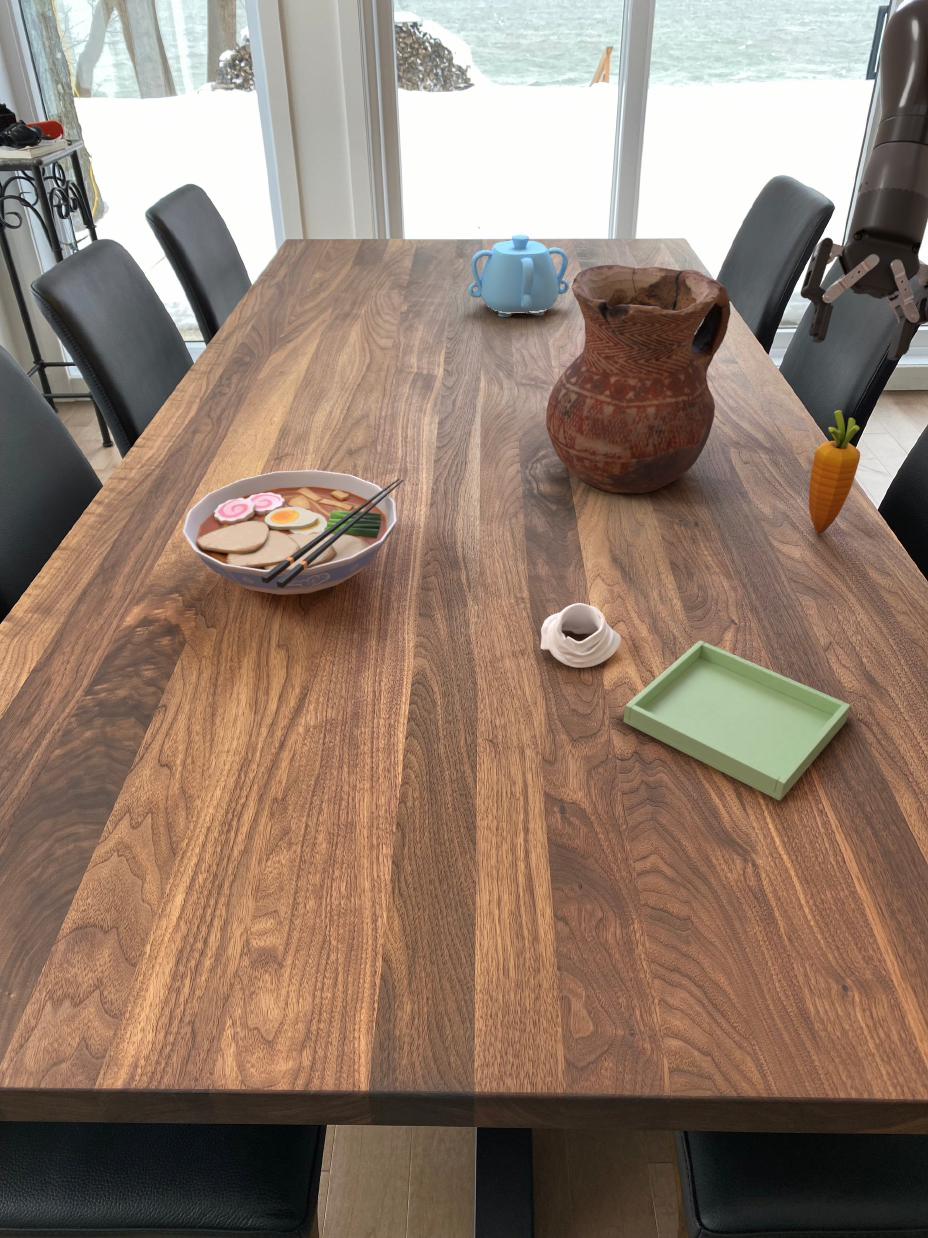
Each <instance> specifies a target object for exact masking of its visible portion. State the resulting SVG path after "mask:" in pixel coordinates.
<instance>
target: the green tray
mask: <svg viewBox="0 0 928 1238" xmlns="http://www.w3.org/2000/svg"><path fill="white" fill-rule="evenodd" d="M850 709H851V704H849V703H847V702H844V701H843V700H840V699H838V698H835V697H834V696H831V695H828V694H826V693H824V692H821V691H819V690H817V689H815V688H813V687H811V686H808V685H805V684H803V683H801V682H799V681H796V680H794V679H791V678H789V677H787V676H785V675H782V674H779V673H777V672H776V671H773V670H770V669H768V668H766V667H763V666H761V665H759V664H756V663H754V662H752V661H749V660H747V659H745V658H742V657H741V656H738V655H735V654H733V653H731V652H729V651H726V650H724V649H722V648H720V647H717V646H715V645H713V644H710V643H707V642H705V641H703V640H701V639H699V640H698V641H697V642H696V643H695V644H693V645H692V646H691V647H690V648H689V649H688V650H687V651H685V652H684V653H683V654H682V655H681V656H680V657H679V658H678V659H676V660H675V661H674V662H673V663H672V664H670V665H669V666H668V667H667V668H666V669H665V670H664V671H662V672H661V673H660V674H659V675H658V676H657V677H656V678H655V679H653V680H652V681H651V682H650V683H649V684H647V686H645V688H643V689H642V690H641V691H639V692H638V693H637V694H636V695H635V696H634V697H632V699H631V700H630V701H628V702H627V703H626V704H625V707H624V714H623V721H622V722H623V723H624V724H626V725H628V726H631V727H633V728H635V729H636V730H638V731H640V732H642V733H644V734H646V735H648V736H650V737H652V738H654V739H656V740H658V741H660V742H662V743H664V744H665V745H667V746H670V747H672V748H674V749H676V750H678V751H679V752H681V753H684V754H685V755H688V756H690V757H692V758H694V759H696V760H698V761H700V762H701V763H704V764H705V765H707V766H710V767H711V768H714V769H716V770H718V771H719V772H721V773H724V774H725V775H727V776H728V777H732V778H734V779H736V780H737V781H739V782H741V783H742V784H745V785H747V786H749V787H751V788H753V789H755V790H757V791H759V792H761V793H763V794H765V795H767V796H769V797H771V798H773V799H775V800H777V801H779V802H781V801H782V799H784V797H785V796H786V795H787V793H788V792H789V791H790V789H792V787H793V786H794V785H795V784H796V783H797V781H798V780H800V778H801V777H802V775H803V774H804V773H805V772H806V770H807V769H808V768H809V767H810V765H812V764H813V762H814V761H815V760H816V758H817V757H818V756H819V755H820V753H821V752H823V750H824V749H825V747H826V746H828V744H829V743H830V741H831V740H832V739H833V738H834V737H835V736H836V734H837V733H838V732H839V731H840V730H841V728H843V726H844V725H845V724H846V723H847V719H848V716H849V712H850Z"/></svg>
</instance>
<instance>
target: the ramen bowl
mask: <svg viewBox="0 0 928 1238" xmlns="http://www.w3.org/2000/svg"><path fill="white" fill-rule="evenodd" d="M403 482H404V479H401V480H400V478H396V480H394V481H393V482H391V483H390V484H389V485H387V486H386V487H384V488H381V486H379V485H377V484H375V483H373V482H370V481H367V480H366V479H363V478H360V477H357V476H354V475H352V474H348V473H343V472H342V473H341V472H333V471H325V470H318V469H317V470H316V469H305V470H304V469H303V470H281V471H280V470H279V471H272V472H267V473H263V474H259V475H255V476H250V477H245V478H241V479H237V480H235V481H233V482H231V483H229V484H227V485H224V486H222V487H220V488H217V489H215V490H213V491H210V492H208V493H206V495H204V496H203V497H202V498H201V499H200V500H199V501H198V502H197V503H196V504H195V505H193V506H192V507H191V509H189V510H188V512H187V515H186V516H185V521H184V524H183V527H182V530H181V531H182V534H183V536H184V537H185V539H186V540H187V542H188V543H189V544H190V546H191V547H192V549H193V551H194V552H195V553H196V554H197V556H198V557H199V558H200V560H201V561H202V562H203V563H204V564H205V565H207V566H208V567H209V568H210V569H211V570H212V571H213V572H214V573H216V574H218V575H219V576H221V577H223V578H224V579H226V580H228V581H229V582H231V583H233V584H236V585H238V586H239V587H241V588H243V589H245V590H249V591H253V592H254V591H255V592H260V593H267V594H273V595H279V596H281V595H282V596H283V595H300V594H301V595H303V594H310V593H314V592H317V591H321V590H323V589H324V590H325V589H328V588H331V587H335V586H337V585H339V584H341V583H343V582H345V581H347V580H349V579H350V578H352V577H353V576H355V575H357V574H359V573H360V572H362V571H364V569H365V568H366V567H368V566H369V565H370V563H371V562H372V561H373V560H374V558H375V556H376V555H377V553H378V552H379V551H380V549H381V548H382V547H383V545H384V544H385V543H386V541H387V540H388V538H389V537H390V535H391V534H392V531H393V529H394V528H395V526H396V524H397V519H398V518H397V509H396V501H395V500H394V499H393V498H392V497H391V496H390V495H389V494H390V493H391V492H393V491H394V490H395V489H396V488H397V487H398V486H399V485H401V484H402V483H403ZM392 486H393V487H392ZM387 490H388V491H387Z"/></svg>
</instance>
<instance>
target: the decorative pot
mask: <svg viewBox="0 0 928 1238" xmlns="http://www.w3.org/2000/svg"><path fill="white" fill-rule="evenodd" d="M552 254H557V255H560V256H561V258H562V263H561V267H560V269H559V272H558V274H557V270H556V267H555V264H554V261H553V258H552ZM483 257H487V258H486V261H485V263H484V265H483V268H482V272H481V275H480V274H479V271H478V266H477V265H478V264H477V263H478V260H479V259H480V258H483ZM568 265H569V257H568V254H567V253H566V252H565V251H564V250H563V249H562V248H560V247H556V246H555V247H553V246H552V247H549V248H547V246H546V245H544V244H543V243H541V242H539V241H535V240H530V237H529V236H528V235H526V234H515V235H513V236H511V239H510V240H508V241H507V240H505V241H499V242H496V243H495V244H493V246H492V248H491V249H490V250H489V249H481V250H479V251H476V253H474V254H473V256H472V257H471V259H470V269H471V272H472V275H473V276H472V277H473V279H474V281H475V282H472V283H471V284H470V285H469V286H468V294H469V296H470V297H472V298H476V299H477V298H481V299H482V301H483V302H484V304H485V306H486V307H487V306H489V307H490V308H492V309H494V310H497V311H502V312H529V311H539V310H545V309H549V308H550V309H551V308H552V307H553V306H554V305H555V303H556V301H557V299H558V297H559V295H564V294H566V293H567V292H568V291H569V287H570V284H569V282H568V280H566V279H563V278H564V276H565V274H566V272H567V270H568ZM561 285H564V286H563V287H562V288H561ZM474 288H477V290H476V291H474ZM489 307H488V308H489ZM490 308H489V309H490ZM492 309H491V310H492ZM550 309H549V310H550ZM497 313H498V314H497V316H498V317H501V318H508V317H512V315H513V314H506V313H499V312H497ZM530 314H531V315H532V316H543V315H545V312H539V313H530Z"/></svg>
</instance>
